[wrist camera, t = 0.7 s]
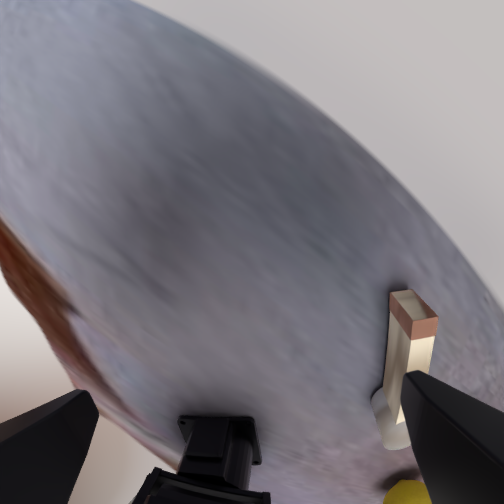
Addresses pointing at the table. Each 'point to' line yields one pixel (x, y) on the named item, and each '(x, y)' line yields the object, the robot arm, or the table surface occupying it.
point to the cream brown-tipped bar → (403, 362)
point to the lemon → (408, 493)
